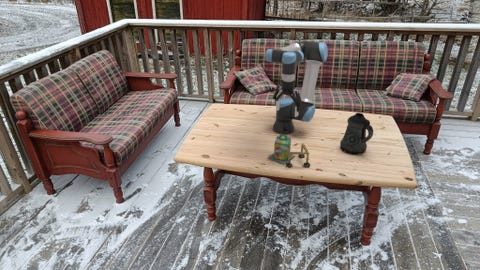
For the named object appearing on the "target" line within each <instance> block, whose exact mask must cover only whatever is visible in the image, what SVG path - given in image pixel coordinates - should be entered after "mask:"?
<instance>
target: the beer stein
mask: <svg viewBox="0 0 480 270" xmlns="http://www.w3.org/2000/svg"><path fill="white" fill-rule="evenodd" d="M373 136H374V129H373V126H372V125H371V122H370V120H369V119H367V118H366V117H365V115H364V113H362V112H357V113H355V114H353V115H351V116H349V117H348V118H347V126H346V129H345V132H344V135H343V137H342V139H341V140H340V142H339V144H340V150H341V151H342V152H344V153H346V154H349V155H354V156H357V155H362V154H365V152H366V150H367V148H368V144H367V142H369V140H371V139H372V138H373Z"/></svg>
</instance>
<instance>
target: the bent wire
mask: <svg viewBox="0 0 480 270" xmlns="http://www.w3.org/2000/svg"><path fill="white" fill-rule="evenodd" d="M300 148H301V149H300V151H290V153H289V160H288V162H287V163H286V164H285V167H286V168H287V167H288V168H287V169H291V167H292V168H293V163H291V155H295V156H296V155H298V156H297V157H298V158H300V159H305V162H303V165H302V166H303V167H304V168H306V167H308V168H311V164H310V163H309V157H310V151H309V149H308V148H307V147H306V145H305V144H304V143H301V146H300ZM305 157H306V158H305Z"/></svg>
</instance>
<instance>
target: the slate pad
mask: <svg viewBox="0 0 480 270" xmlns="http://www.w3.org/2000/svg"><path fill="white" fill-rule="evenodd" d="M295 157H296V155H291V160H293V159H294V158H295ZM267 159H268V160H271V161H273V162H276V163H278V164H280V165H282V166H283V165H285V166H286V164H287V163H288V161H286V160H279V159H274V152H273V153H272V154H270V155H269V156H268V157H267ZM288 160H289V158H288Z"/></svg>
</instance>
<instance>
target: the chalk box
mask: <svg viewBox="0 0 480 270" xmlns="http://www.w3.org/2000/svg"><path fill="white" fill-rule="evenodd" d="M291 145H292V138H291V137H288V134H279V136H276V138H275V141H274V145H273V153H274V159H279V160H286V161H288V158H289V153H290V152H291Z"/></svg>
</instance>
